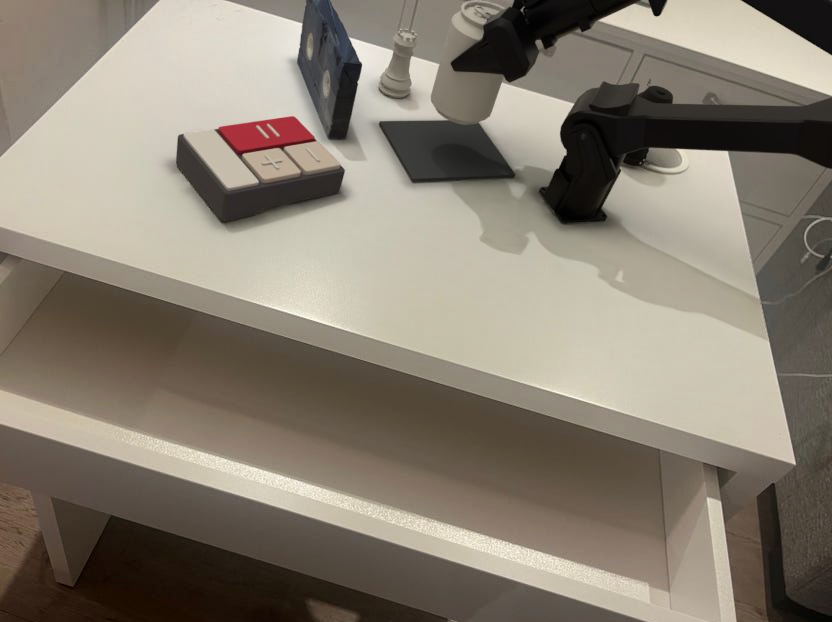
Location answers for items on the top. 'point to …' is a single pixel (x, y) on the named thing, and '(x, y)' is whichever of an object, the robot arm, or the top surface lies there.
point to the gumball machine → (655, 96)
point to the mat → (445, 151)
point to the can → (465, 91)
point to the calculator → (257, 166)
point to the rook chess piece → (399, 66)
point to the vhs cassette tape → (328, 66)
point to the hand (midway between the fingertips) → (464, 54)
